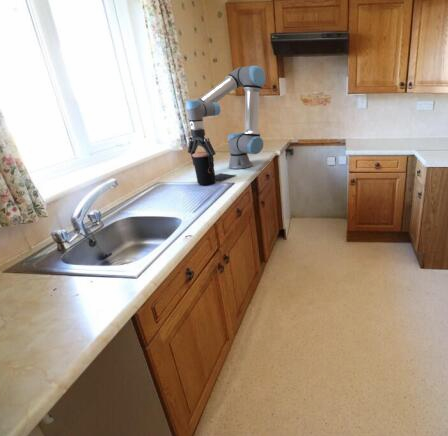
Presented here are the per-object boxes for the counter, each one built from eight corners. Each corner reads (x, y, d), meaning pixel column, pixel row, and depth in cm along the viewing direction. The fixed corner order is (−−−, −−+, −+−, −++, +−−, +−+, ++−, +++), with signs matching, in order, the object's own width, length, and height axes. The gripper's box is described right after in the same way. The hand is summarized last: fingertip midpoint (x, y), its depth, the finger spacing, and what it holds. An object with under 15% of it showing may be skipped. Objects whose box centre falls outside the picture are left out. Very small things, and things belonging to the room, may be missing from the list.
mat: (220, 173, 213) (220, 173, 213) (235, 175, 207) (235, 175, 206) (205, 179, 203) (205, 178, 202) (221, 181, 196) (220, 181, 196)
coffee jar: (213, 185, 189) (208, 155, 182) (195, 186, 190) (189, 156, 182) (218, 180, 199) (213, 151, 192) (201, 180, 199) (196, 151, 192)
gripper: (177, 129, 184) (184, 165, 193) (208, 130, 173) (214, 169, 181) (187, 127, 190) (194, 162, 199) (218, 128, 178) (223, 166, 187)
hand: (203, 166), depth 190 cm, fingers open, 13 cm apart
